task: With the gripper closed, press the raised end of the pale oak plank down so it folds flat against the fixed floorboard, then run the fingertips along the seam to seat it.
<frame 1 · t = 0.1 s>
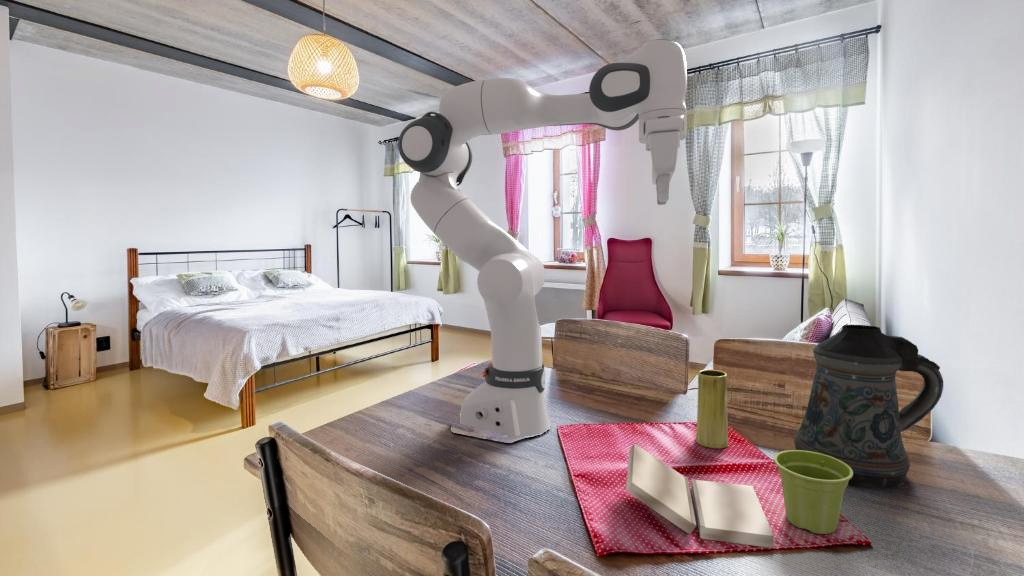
hand: (662, 203, 91), 48 cm above the table, tool pointing down, fingers open, 8 cm apart
vase: (711, 443, 94), on the table
beer stein: (855, 466, 82), on the table
loose plank: (659, 484, 71), point 4 cm above the table, hinge at 32.0°
plant pot: (810, 523, 67), on the table
fixed floorboard: (728, 515, 69), on the table
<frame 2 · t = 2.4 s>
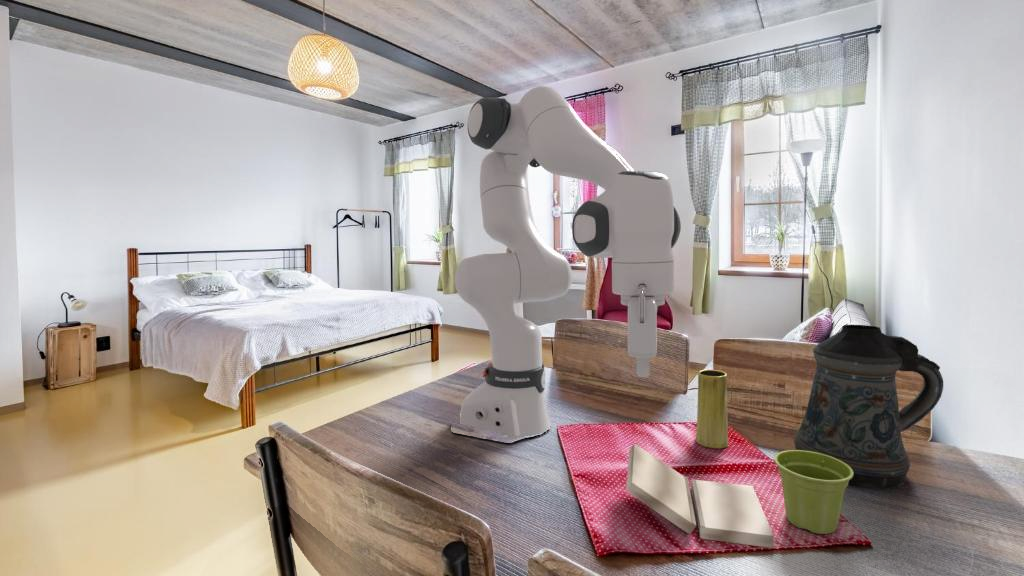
hand: (643, 372, 70), 21 cm above the table, tool pointing down, fingers closed
nothing on the table moved.
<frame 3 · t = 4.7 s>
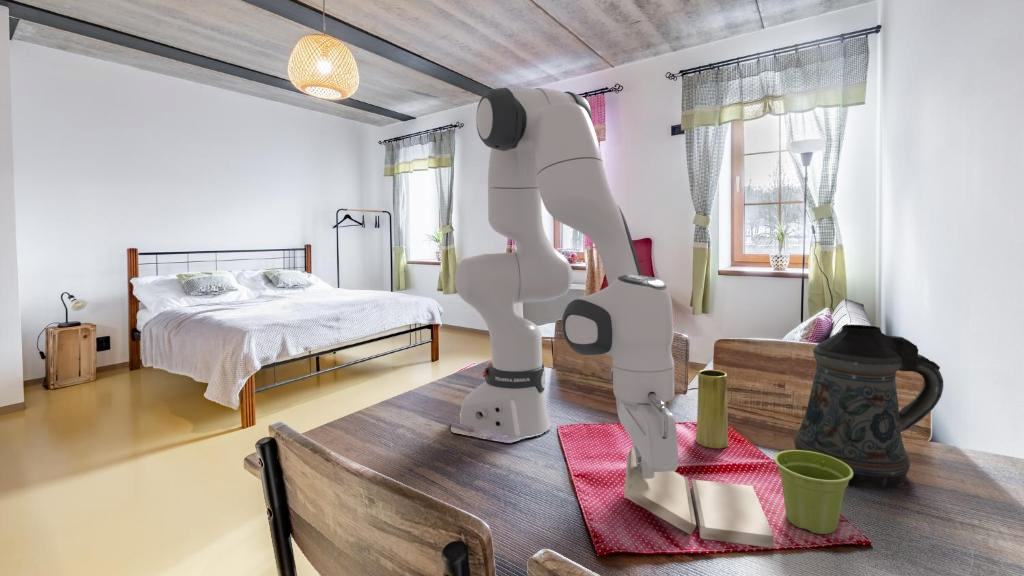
hand: (644, 472, 71), 6 cm above the table, tool pointing down, fingers closed
loose plank: (658, 486, 71), point 3 cm above the table, hinge at 26.9°, touching gripper
everything else where it was.
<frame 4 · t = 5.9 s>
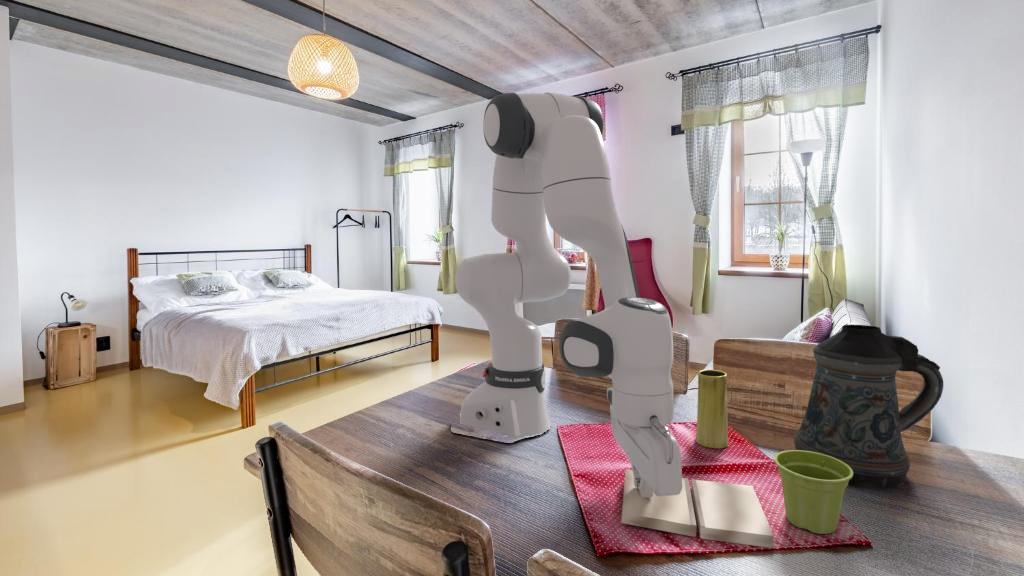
hand: (643, 492, 72), 2 cm above the table, tool pointing down, fingers closed, pressing on loose plank
loose plank: (657, 499, 72), point 1 cm above the table, hinge at 3.7°, touching gripper
everything else where it was.
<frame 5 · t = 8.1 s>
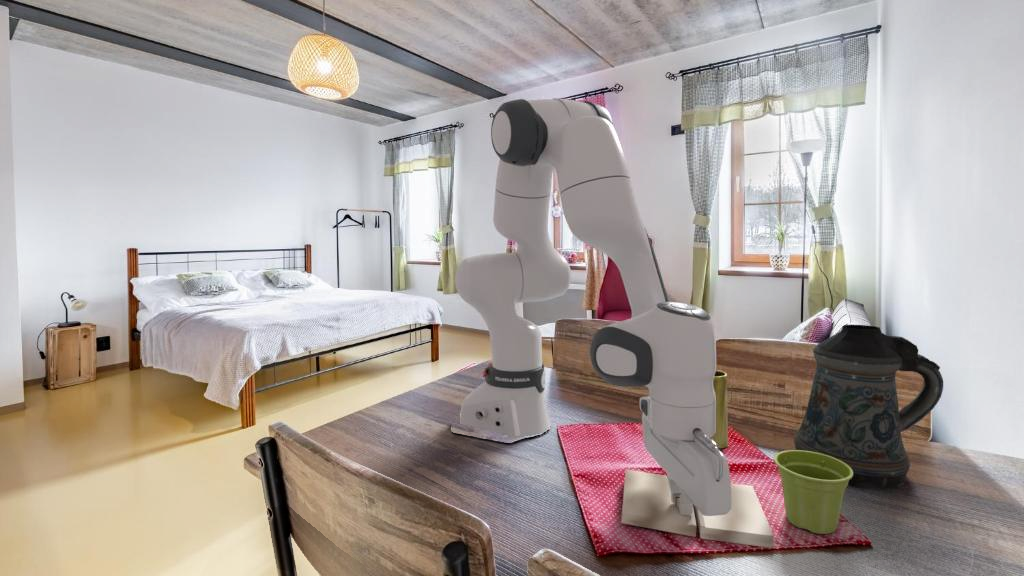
hand: (681, 508, 68), 2 cm above the table, tool pointing down, fingers closed
loose plank: (657, 499, 72), point 1 cm above the table, hinge at 3.7°, touching gripper
everything else where it was.
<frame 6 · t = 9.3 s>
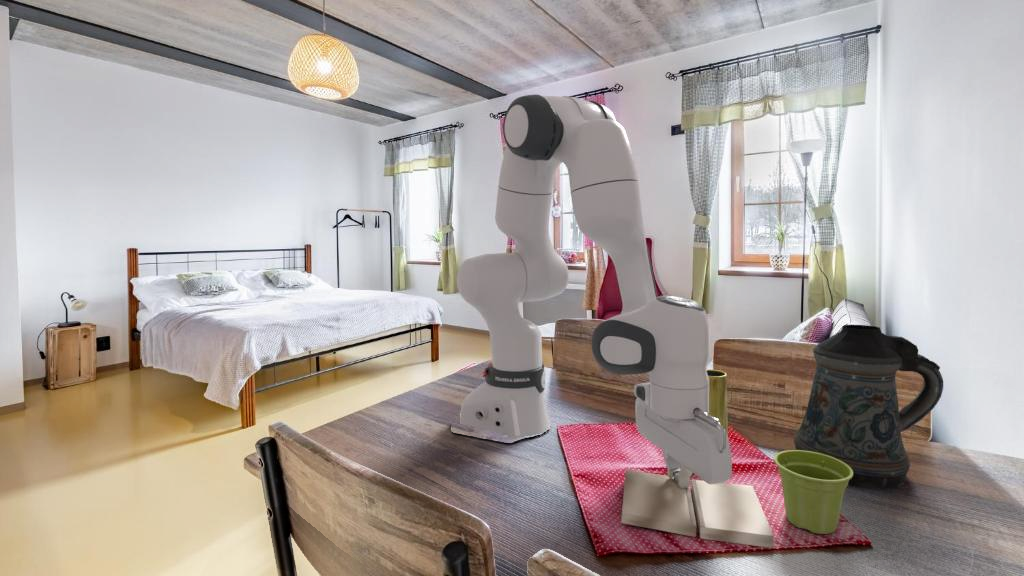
hand: (678, 482, 75), 2 cm above the table, tool pointing down, fingers closed
loose plank: (657, 499, 72), point 1 cm above the table, hinge at 3.7°
everything else where it was.
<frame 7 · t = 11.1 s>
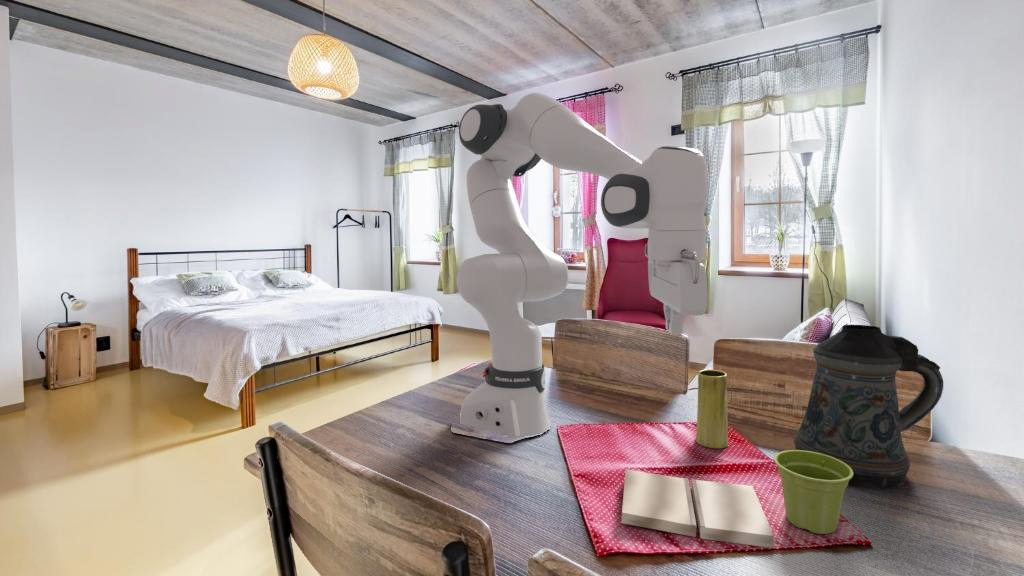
hand: (673, 332, 77), 26 cm above the table, tool pointing down, fingers closed
nothing on the table moved.
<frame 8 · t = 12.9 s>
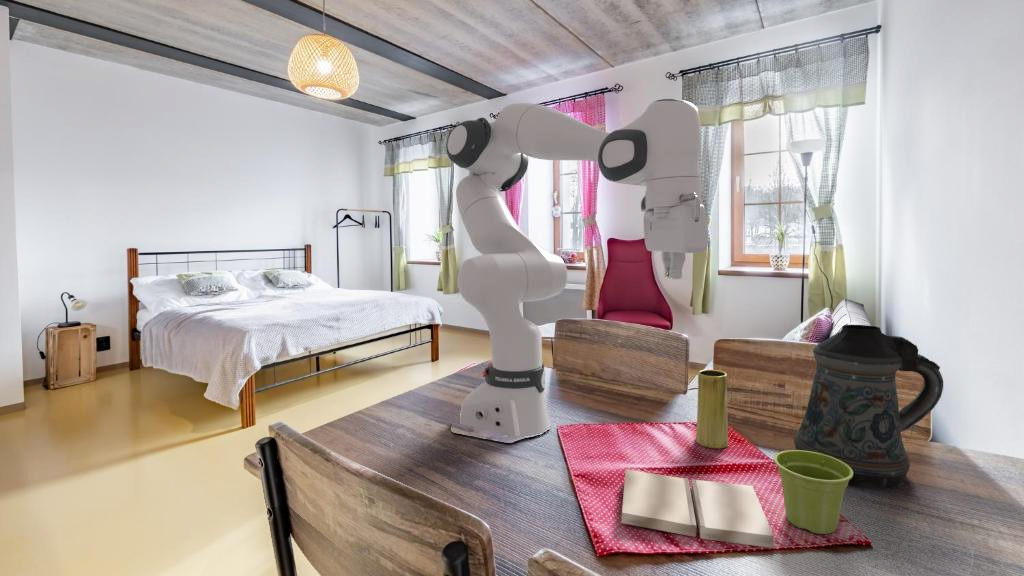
hand: (673, 278, 81), 34 cm above the table, tool pointing down, fingers closed
nothing on the table moved.
at the end: loose plank at +4° (first picture: +32°); the gripper is holding nothing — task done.
